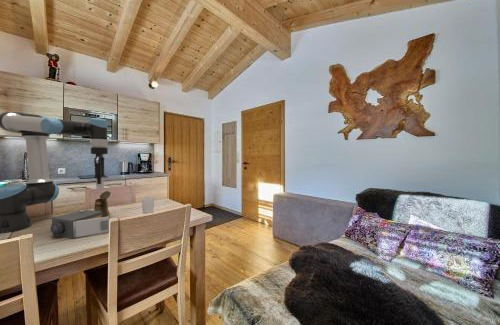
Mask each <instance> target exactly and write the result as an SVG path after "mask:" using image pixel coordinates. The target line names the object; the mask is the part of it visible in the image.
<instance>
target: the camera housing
mask: <svg viewBox="0 0 500 325" xmlns="http://www.w3.org/2000/svg"><path fill="white" fill-rule="evenodd" d="M102 217H103V212H101V211H94V209H84V208H83V209H80V210H77V211H72V212H69V213H66V214H61V215H57V216H53V217H51V225H50V232H51V235H52V236H56V237H62V238H66V239H67V238H69V239H74V238H73V222H74V221H81V220H88V219H95V218H102Z"/></svg>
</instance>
